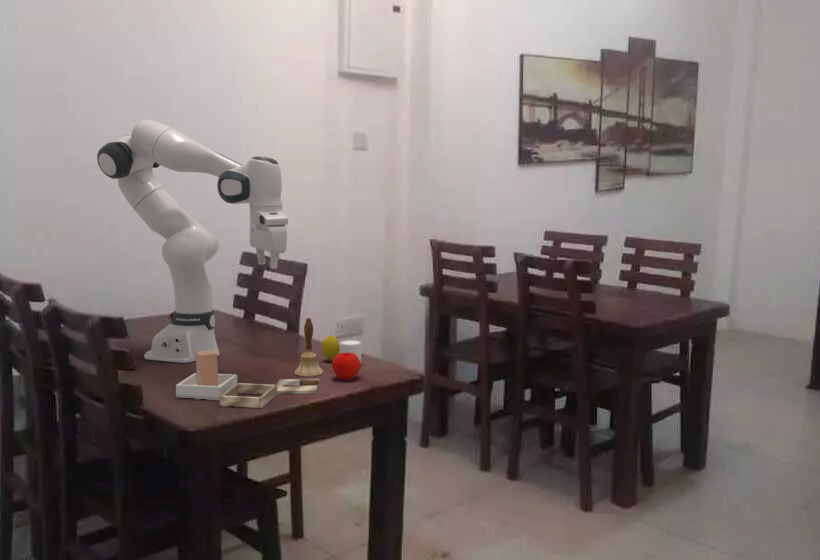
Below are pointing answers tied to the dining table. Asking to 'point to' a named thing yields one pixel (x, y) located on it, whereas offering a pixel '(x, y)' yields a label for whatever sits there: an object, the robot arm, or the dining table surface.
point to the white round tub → (351, 347)
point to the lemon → (330, 347)
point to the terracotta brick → (207, 368)
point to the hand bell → (308, 355)
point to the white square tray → (205, 387)
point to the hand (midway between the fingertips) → (267, 266)
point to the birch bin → (251, 402)
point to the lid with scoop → (297, 386)
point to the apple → (346, 365)
